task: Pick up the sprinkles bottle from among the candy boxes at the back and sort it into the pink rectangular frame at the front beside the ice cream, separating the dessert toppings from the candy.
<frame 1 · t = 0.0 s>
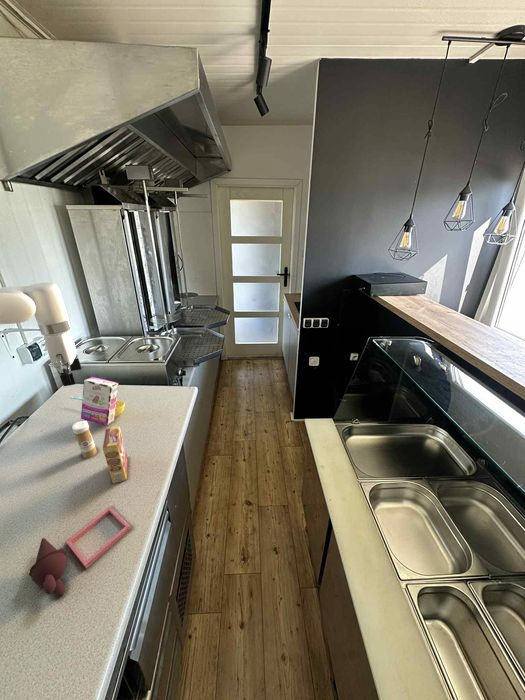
hand: (73, 377, 90), 29 cm above the countertop, tool pointing down, fingers open, 9 cm apart
pink rectangular frame: (100, 538, 74), on the countertop
ladle: (95, 408, 120), point 2 cm above the countertop, touching candy bar box
icecream: (53, 573, 67), on the countertop
candy box: (121, 472, 93), on the countertop
sprinkles bottle: (90, 455, 100), on the countertop
candy bar box: (97, 420, 112), point 3 cm above the countertop, touching ladle
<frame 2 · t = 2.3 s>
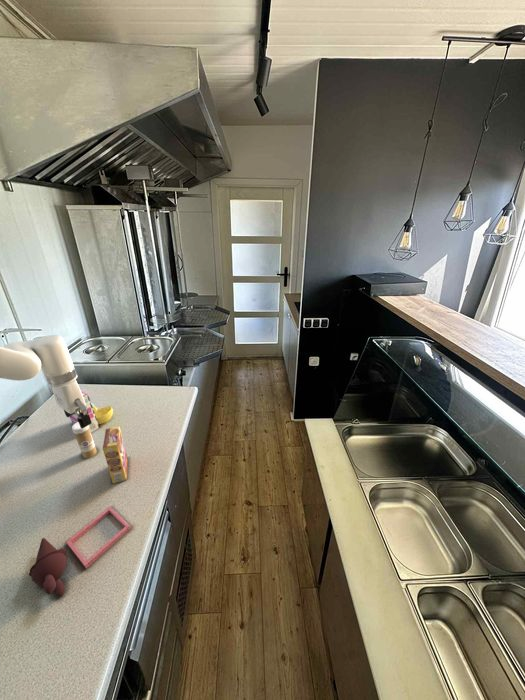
hand: (79, 420, 93), 15 cm above the countertop, tool pointing down, fingers open, 9 cm apart
ladle: (95, 412, 121), on the countertop, touching candy bar box
candy bar box: (87, 427, 113), on the countertop, touching ladle
everything else where it was.
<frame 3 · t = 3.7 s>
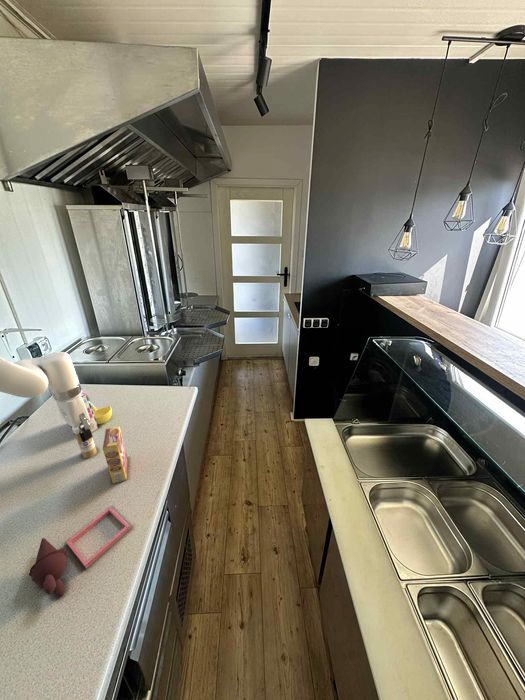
hand: (83, 435, 96), 9 cm above the countertop, tool pointing down, fingers closed on sprinkles bottle, 4 cm apart
sprinkles bottle: (90, 455, 100), on the countertop, touching gripper
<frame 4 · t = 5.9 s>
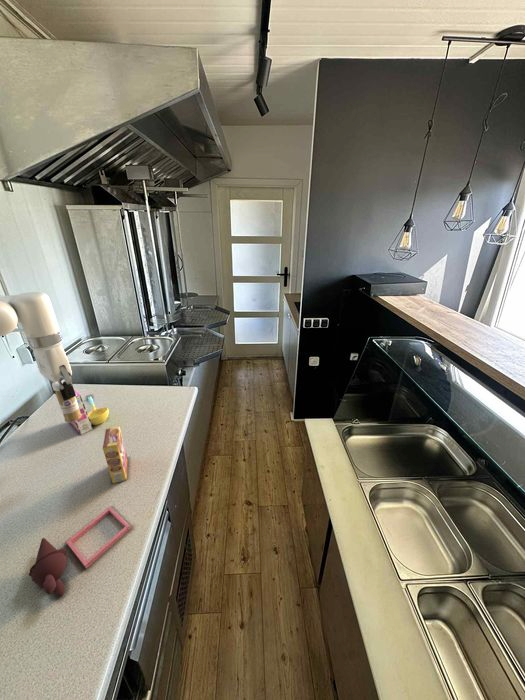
hand: (65, 394, 85), 28 cm above the countertop, tool pointing down, fingers closed on sprinkles bottle, 4 cm apart
ladle: (95, 411, 122), on the countertop, touching candy bar box
sprinkles bottle: (73, 418, 89), point 19 cm above the countertop, touching gripper
candy bar box: (82, 426, 113), on the countertop, touching ladle
everything else where it was.
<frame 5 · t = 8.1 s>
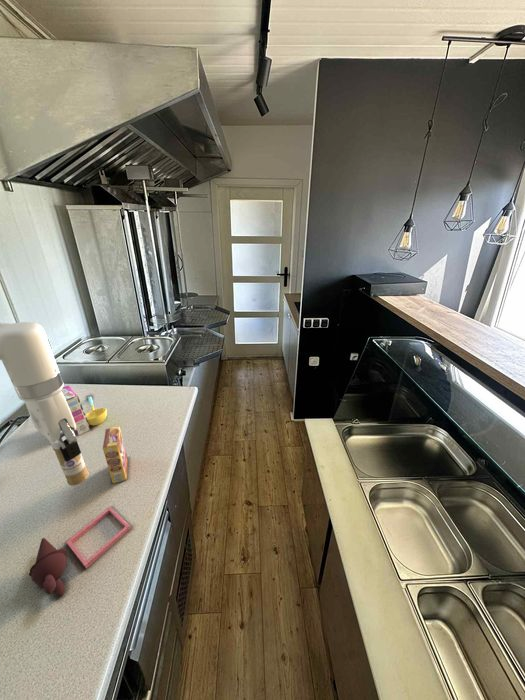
hand: (67, 451, 65), 28 cm above the countertop, tool pointing down, fingers closed on sprinkles bottle, 4 cm apart
ladle: (94, 411, 122), on the countertop, touching candy bar box
sprinkles bottle: (79, 478, 69), point 19 cm above the countertop, touching gripper
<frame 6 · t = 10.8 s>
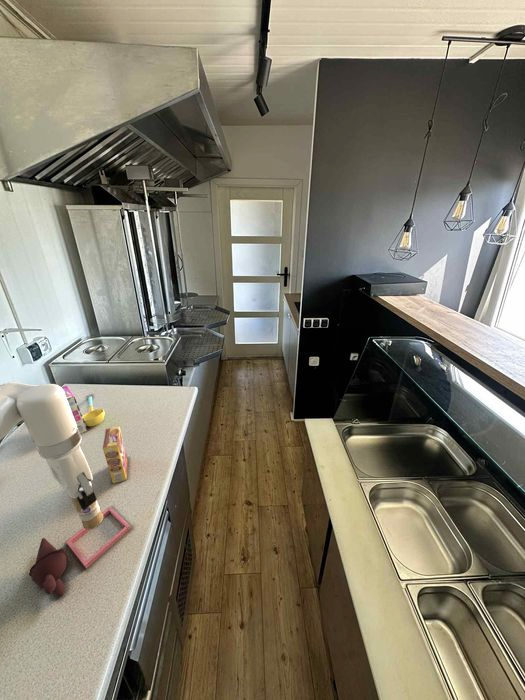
hand: (83, 498, 67), 16 cm above the countertop, tool pointing down, fingers closed on sprinkles bottle, 4 cm apart
sprinkles bottle: (94, 521, 71), point 7 cm above the countertop, touching gripper
when the fingers open (9 cm above the countertop, at t = 12.8 s): sprinkles bottle stays where it is, resting on pink rectangular frame.
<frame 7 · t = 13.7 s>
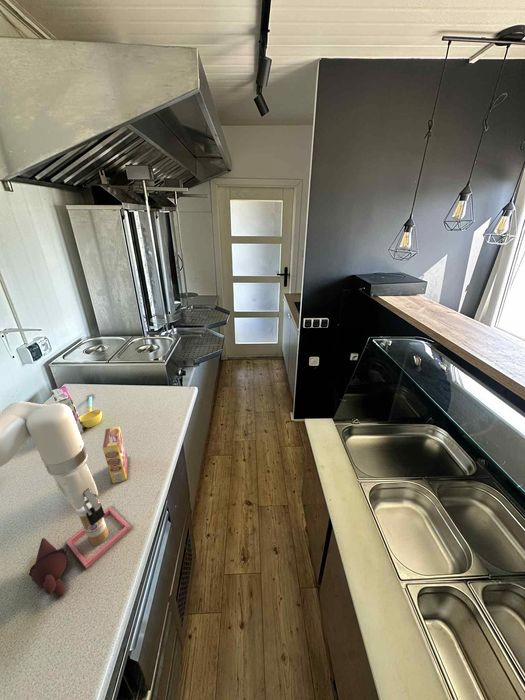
hand: (87, 508, 69), 12 cm above the countertop, tool pointing down, fingers open, 9 cm apart
sprinkles bottle: (100, 537, 74), resting on pink rectangular frame
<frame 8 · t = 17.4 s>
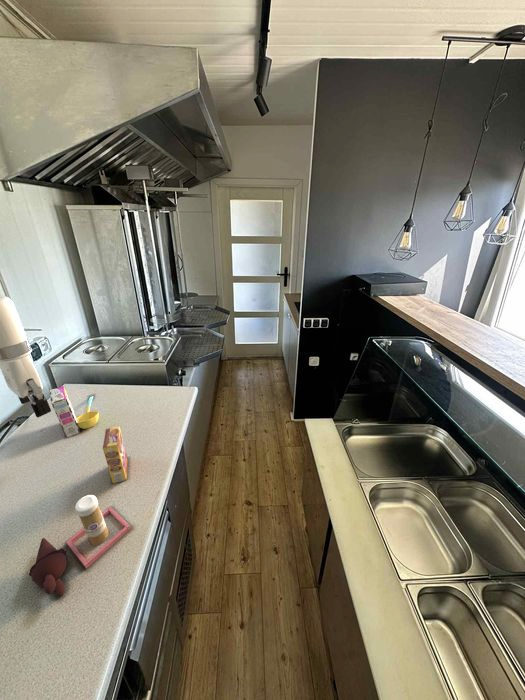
hand: (36, 407, 75), 30 cm above the countertop, tool pointing down, fingers open, 9 cm apart
candy bar box: (73, 428, 112), on the countertop, touching ladle
at the end: sprinkles bottle 0.1 cm off-centre in the pink rectangular frame, point 0.3 cm above the pink rectangular frame's base; sprinkles bottle tilted 0° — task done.
